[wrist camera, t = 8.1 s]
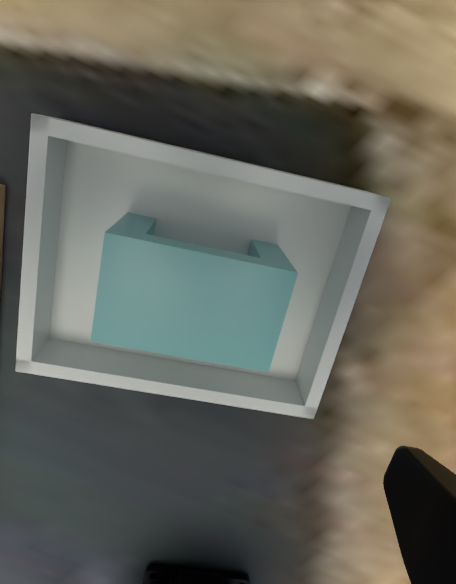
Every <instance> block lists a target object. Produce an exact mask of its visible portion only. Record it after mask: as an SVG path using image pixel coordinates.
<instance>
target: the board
mask: <svg viewBox="0 0 456 584" xmlns="http://www.w3.org/2000/svg"><path fill="white" fill-rule="evenodd" d="M4 207H5V185H3V184H0V297H1V274H2V252H3V230H4Z"/></svg>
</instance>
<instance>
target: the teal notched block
mask: <svg viewBox="0 0 456 584" xmlns="http://www.w3.org/2000/svg"><path fill="white" fill-rule="evenodd" d="M155 222H156V218H152V217H148V216H143V215H139V214H134V213H129V212H127V213H126V214H125V215H124V216H123V217H122V218H121V219H119V220H118V221H117V222H116V223H115V224H114V225H113V226H111V227H110V228H109V229H108V230H107V231H106V232H105V234H104V241H103V249H102V257H101V264H100V272H99V279H98V287H97V295H96V302H95V310H94V318H93V325H92V333H91V341H93V342H99V343H105V344H110V345H116V346H122V347H127V348H133V349H139V350H144V351H150V352H156V353H161V354H167V355H173V356H179V357H184V358H190V359H196V360H201V361H207V362H213V363H218V364H224V365H230V366H235V367H241V368H247V369H252V370H258V371H264V372H269V369H270V366H271V362H272V359H273V356H274V352H275V349H276V346H277V342H278V339H279V336H280V332H281V329H282V326H283V322H284V319H285V315H286V312H287V309H288V305H289V302H290V299H291V295H292V292H293V289H294V285H295V282H296V279H297V275H298V272H297V270H296V269H295V268H294V266H293V265H292V264H291V262H290V261H289V259H288V258H287V257H286V255H285V254H284V252H283V251H282V250H281V248H280V247H279V246H278V245H277V244H272V243H268V242H263V241H258V240H254V239H252V240H251V243H250V247H249V251H248V255H244V254H239V253H234V252H229V251H225V250H220V249H215V248H211V247H206V246H201V245H196V244H192V243H187V242H182V241H177V240H173V239H168V238H163V237H159V236H154V235H153V234H154V228H155Z"/></svg>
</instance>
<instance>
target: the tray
mask: <svg viewBox="0 0 456 584" xmlns="http://www.w3.org/2000/svg"><path fill="white" fill-rule="evenodd" d="M390 200H391V198H389V197H386V196H382V195H379V194H375V193H372V192H368V191H365V190H361V189H356V188H352V187H348V186H344V185H339V184H335V183H331V182H327V181H323V180H318V179H314V178H310V177H306V176H301V175H297V174H293V173H289V172H285V171H280V170H276V169H272V168H268V167H263V166H259V165H255V164H251V163H246V162H242V161H238V160H234V159H230V158H225V157H221V156H217V155H213V154H208V153H204V152H200V151H196V150H192V149H187V148H183V147H179V146H175V145H170V144H166V143H162V142H158V141H154V140H149V139H145V138H141V137H137V136H132V135H128V134H124V133H120V132H116V131H111V130H107V129H103V128H99V127H94V126H90V125H86V124H82V123H78V122H73V121H69V120H65V119H61V118H56V117H50V116H45V115H39V114H34V113H31V125H30V142H29V158H28V174H27V190H26V207H25V223H24V239H23V255H22V272H21V288H20V304H19V320H18V337H17V353H16V369H15V371H17V372H23V373H29V374H35V375H42V376H48V377H54V378H60V379H67V380H73V381H79V382H85V383H92V384H98V385H104V386H110V387H117V388H123V389H129V390H135V391H141V392H148V393H154V394H160V395H166V396H173V397H179V398H185V399H191V400H198V401H204V402H210V403H216V404H223V405H229V406H235V407H241V408H248V409H254V410H260V411H266V412H272V413H279V414H285V415H291V416H297V417H304V418H310V419H314V417H315V414H316V411H317V408H318V405H319V403H320V400H321V397H322V394H323V391H324V388H325V386H326V383H327V380H328V377H329V374H330V371H331V368H332V366H333V363H334V360H335V357H336V354H337V351H338V348H339V346H340V343H341V340H342V337H343V334H344V331H345V328H346V326H347V323H348V320H349V317H350V314H351V311H352V309H353V306H354V303H355V300H356V297H357V294H358V291H359V289H360V286H361V283H362V280H363V277H364V274H365V271H366V269H367V266H368V263H369V260H370V257H371V254H372V252H373V249H374V246H375V243H376V240H377V237H378V234H379V232H380V229H381V226H382V223H383V220H384V217H385V214H386V212H387V209H388V206H389V203H390ZM127 212H129V213H134V214H139V215H143V216H148V217H152V218H156V222H155V228H154V234H153V235H154V236H159V237H163V238H168V239H173V240H177V241H182V242H187V243H192V244H196V245H201V246H206V247H211V248H215V249H220V250H225V251H229V252H234V253H239V254H244V255H248V251H249V247H250V243H251V240H252V239H254V240H258V241H263V242H268V243H272V244H277V245H278V246H279V247H280V248H281V250H282V251H283V252H284V254H285V255H286V257H287V258H288V259H289V261H290V262H291V264H292V265H293V266H294V268H295V269H296V270H297V272H298V275H297V279H296V282H295V285H294V289H293V292H292V295H291V299H290V302H289V305H288V309H287V312H286V315H285V319H284V322H283V326H282V329H281V332H280V336H279V339H278V342H277V346H276V349H275V352H274V356H273V359H272V362H271V366H270V369H269V372H264V371H258V370H252V369H247V368H241V367H235V366H230V365H224V364H218V363H213V362H207V361H201V360H196V359H190V358H184V357H179V356H173V355H167V354H161V353H156V352H150V351H144V350H139V349H133V348H127V347H122V346H116V345H110V344H105V343H99V342H93V341H91V333H92V325H93V318H94V310H95V302H96V295H97V287H98V279H99V272H100V264H101V257H102V249H103V241H104V234H105V232H106V231H107V230H108V229H109V228H110V227H111V226H113V225H114V224H115V223H116V222H117V221H118V220H119V219H121V218H122V217H123V216H124V215H125V214H126V213H127Z"/></svg>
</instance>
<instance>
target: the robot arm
mask: <svg viewBox="0 0 456 584" xmlns="http://www.w3.org/2000/svg"><path fill="white" fill-rule="evenodd" d="M383 484H384V490H385V494H386V498H387V502H388V505H389V509H390V513H391V517H392V520H393V524H394V528H395V532H396V535H397V539H398V543H399V547H400V550H401V554H402V557H403V561H404V564H405V567H406V570H407V573H408V576H409V579H410V581H411V584H456V474H454V473H453V472H451V471H450V470H449V469H447V468H446V467H445V466H443V465H442V464H440V463H439V462H438V461H436V460H435V459H433V458H432V457H431V456H429V455H428V454H426V453H425V452H424V451H422V450H421V449H418V448H414V447H407V446H400V447H398V448H397V449H396V451H395V453H394V455H393V457H392V459H391V462H390V464H389V466H388V468H387V471H386V473H385V475H384V482H383ZM143 584H250V582H249V577H248V575H246V574H243V573H234V572H225V571H216V570H206V569H197V568H188V567H179V566H170V565H161V564H151V565H149V566H147V568H146V571H145V576H144V580H143Z"/></svg>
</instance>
